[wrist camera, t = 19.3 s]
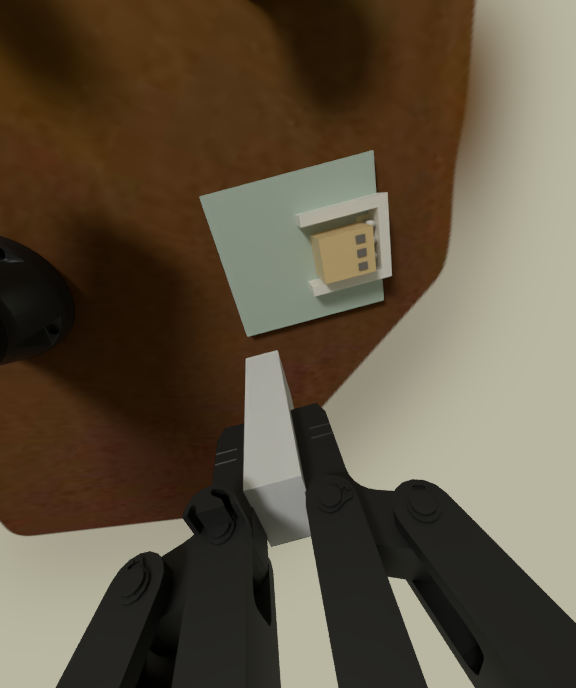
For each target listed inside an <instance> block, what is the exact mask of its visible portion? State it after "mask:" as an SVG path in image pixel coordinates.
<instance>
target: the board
mask: <svg viewBox="0 0 576 688" xmlns="http://www.w3.org/2000/svg"><path fill="white" fill-rule="evenodd" d="M200 200H201V203H202V206H203V209H204V212H205V215H206V218H207V221H208V224H209V227H210V229H211V232H212V235H213V238H214V241H215V244H216V247H217V250H218V253H219V256H220V259H221V261H222V264H223V267H224V270H225V273H226V276H227V279H228V282H229V285H230V288H231V291H232V293H233V296H234V299H235V302H236V305H237V308H238V311H239V314H240V317H241V320H242V323H243V326H244V328H245V331H246V334H247V337H249V336H252V335H256V334H260V333H264V332H267V331H271V330H275V329H278V328H282V327H286V326H290V325H293V324H297V323H301V322H305V321H308V320H312V319H316V318H320V317H323V316H327V315H331V314H334V313H338V312H342V311H346V310H349V309H353V308H357V307H361V306H364V305H368V304H372V303H376V302H379V301H383V300H384V294H383V280H382V278H386V277H390V276H392V268H391V249H390V230H389V212H388V193H387V192H386V193H376V181H375V167H374V152H373V150H372V151H368V152H364V153H361V154H357V155H353V156H349V157H346V158H342V159H338V160H335V161H331V162H327V163H323V164H320V165H316V166H312V167H308V168H305V169H301V170H297V171H293V172H290V173H286V174H282V175H278V176H275V177H271V178H267V179H263V180H260V181H256V182H252V183H249V184H245V185H241V186H237V187H234V188H230V189H226V190H222V191H219V192H215V193H211V194H207V195H204V196H200ZM355 222H359V223H364V224H369V225H373V236H374V248H375V261H376V271H374V272H370V273H367V274H363V275H359V276H355V277H352V278H348V279H344V280H340V281H337V282H333V283H329V284H325V283H324V282H323V280H322V279H321V278H320V277H319V276H318V275H317V273H316V267H315V262H314V257H313V251H312V246H311V240H310V234H313V233H317V232H321V231H325V230H329V229H332V228H336V227H340V226H344V225H347V224H351V223H355Z"/></svg>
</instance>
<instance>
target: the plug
mask: <svg viewBox="0 0 576 688" xmlns="http://www.w3.org/2000/svg"><path fill="white" fill-rule="evenodd" d="M310 240H311V246H312V251H313V257H314V262H315V267H316V273H317V275H318V276H319V277H320V278H321V279H322V280H323V282H324V283H325V284H329V283H333V282H337V281H340V280H344V279H348V278H352V277H355V276H359V275H363V274H367V273H370V272H374V271H376V261H375V248H374V236H373V225H369V224H364V223H359V222H355V223H351V224H347V225H344V226H340V227H336V228H332V229H329V230H325V231H321V232H317V233H313V234H310Z"/></svg>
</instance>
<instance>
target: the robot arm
mask: <svg viewBox="0 0 576 688" xmlns="http://www.w3.org/2000/svg"><path fill="white" fill-rule="evenodd" d="M73 320H74V306H73V301H72V298H71V295H70V292H69V290H68V288H67V286H66V285H65V283H64V281H63V280H62V278H61V277H60V276H59V274H58V273H57V272H56V271H55V270H54V269H53V268H52V267H51V265H49V264H48V263H47V262H46V261H45V260H44V259H43V258H41V257H40V256H39V255H38V254H36V253H35V252H33V251H32V250H30V249H28V248H27V247H25V246H23V245H21V244H19V243H17V242H15V241H12V240H10V239H7V238H4V237H1V236H0V365H4V364H8V363H12V362H16V361H20V360H23V359H27V358H31V357H34V356H38V355H40V354H42V353H44V352H46V351H48V350H50V349H51V348H53V347H54V346H55V345H57V344H58V343H59V342H61V341H62V340H63V339H64V338H65V337H66V336H67V334H68V333H69V331H70V330H71V327H72V324H73ZM182 518H183V519H184V521H185V522H186V523H187V525H188V526H189V528H190V529H191V530H192V532H193V533H194V535H193V536H192V537H191V538H190V539H188V540H187V541H186V542H184V543H183V544H181V545H179V546H178V547H176V548H175V549H173V550H172V551H170V552H168V553H167V554H165V555H164V556H162V557H161V556H160V555H159V554H157V553H154V552H150V551H149V552H145V553H141V554H139V555H137V556H136V557H134V558H132V559H131V560H129V561H128V562H127V563H126V564H125V565H124V566H123V567H122V568H121V569H120V570H119V572H118V573H117V575H116V576H115V578H114V579H113V581H112V582H111V584H110V586H109V588H108V589H107V591H106V593H105V595H104V597H103V599H102V601H101V603H100V605H99V606H98V608H97V610H96V612H95V614H94V616H93V618H92V620H91V622H90V624H89V626H88V627H87V629H86V631H85V633H84V635H83V637H82V639H81V641H80V643H79V644H78V646H77V648H76V650H75V652H74V654H73V656H72V658H71V660H70V662H69V663H68V666H67V667H66V669H65V671H64V673H63V675H62V677H61V679H60V680H59V682H58V684H57V686H56V688H281V683H280V669H279V668H280V667H279V652H278V638H277V622H276V607H275V592H274V577H273V569H272V565H271V561H270V559H269V558H268V546H267V540H268V541H269V543H270V545H271V547H272V546H276V545H280V544H284V543H288V542H291V541H294V540H298V539H302V538H306V537H310V536H311V538H312V544H313V549H314V555H315V560H316V566H317V571H318V577H319V583H320V588H321V594H322V599H323V605H324V610H325V616H326V621H327V627H328V631H329V637H330V643H331V649H332V654H333V660H334V665H335V671H336V676H337V682H338V687H339V688H428V687H427V684H426V681H425V679H424V676H423V674H422V670H421V668H420V665H419V662H418V660H417V657H416V654H415V651H414V649H413V646H412V643H411V640H410V638H409V635H408V632H407V629H406V627H405V624H404V621H403V618H402V616H401V613H400V610H399V607H398V605H397V602H396V599H395V596H394V594H393V591H392V588H391V585H390V583H389V580H388V577H394V578H400V579H406V581H407V582H408V584H409V585H410V587H411V588H412V590H413V592H414V593H415V595H416V596H417V598H418V599H419V601H420V603H421V604H422V606H423V607H424V609H425V610H426V612H427V613H428V615H429V617H430V618H431V620H432V621H433V623H434V624H435V626H436V628H437V629H438V631H439V632H440V634H441V635H442V637H443V638H444V640H445V642H446V643H447V645H448V646H449V648H450V649H451V651H452V653H453V654H454V655H455V657H456V659H457V660H458V662H459V664H460V665H461V667H462V668H463V669H464V671H465V673H466V674H467V676H468V678H469V679H470V681H471V682H472V684H473V685H474V687H475V688H576V623H575V622H574V621H573V620H572V619H571V618H570V617H569V616H568V615H567V614H566V613H565V612H564V611H563V610H562V609H561V608H560V607H559V606H558V605H557V604H556V603H555V602H554V601H553V600H552V599H551V598H550V597H549V596H548V595H547V594H546V593H545V592H544V591H543V590H542V589H541V588H540V587H539V586H538V585H537V584H536V583H535V582H534V581H533V580H532V579H531V578H530V577H529V576H528V575H527V574H526V573H525V572H524V571H523V570H522V569H521V568H520V567H519V566H518V565H517V564H516V563H515V562H514V561H513V560H512V558H511V557H509V556H508V555H507V553H505V552H504V551H503V549H502V548H501V547H499V545H497V543H496V542H495V541H494V540H493V539H492V538H491V537H489V535H488V534H487V533H486V532H485V531H484V530H482V528H481V527H480V526H479V525H478V524H477V523H476V522H475V521H474V520H472V518H471V517H470V516H469V515H468V514H467V513H466V512H465V511H464V510H463V509H462V508H461V507H460V506H459V505H458V504H457V503H456V502H455V501H454V500H453V499H452V498H451V497H450V496H449V495H448V494H447V493H446V492H445V491H443V490H442V489H441V488H439V487H438V486H437V485H435V484H433V483H430V482H428V481H425V480H413V479H412V480H409V481H406V482H403V483H401V484H400V485H399V486H398V487H397V488H396V489H395V491H386V490H374V489H368V488H366V487H363V486H361V485H360V484H358V483H357V482H355V481H354V480H353V479H352V478H351V477H350V475H349V474H348V472H347V470H346V468H345V465H344V462H343V459H342V456H341V454H340V451H339V448H338V445H337V443H336V440H335V437H334V434H333V431H332V429H331V426H330V423H329V420H328V417H327V415H326V412H325V410H323V409H322V408H321V407H320V406H319V405H318V404H317V403H315V404H311V405H308V406H304V407H300V408H296V409H294V408H293V403H292V399H291V394H290V391H289V388H288V384H287V381H286V377H285V374H284V370H283V367H282V364H281V360H280V357H279V353H278V350H276V351H273V352H269V353H265V354H261V355H258V356H254V357H250V358H246V377H245V423H244V424H240V425H236V426H233V427H229V428H225V429H224V431H223V432H222V434H221V436H220V438H219V439H218V443H217V450H216V458H215V466H214V473H213V481H212V485H211V486H209V487H206V488H204V489H202V490H201V491H200V492H198V493H197V494H196V495H195V496H194V497H193V498H192V499H191V501H190V502H189V503H188V505H187V506H186V508H185V511H184V513H183V516H182Z"/></svg>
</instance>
